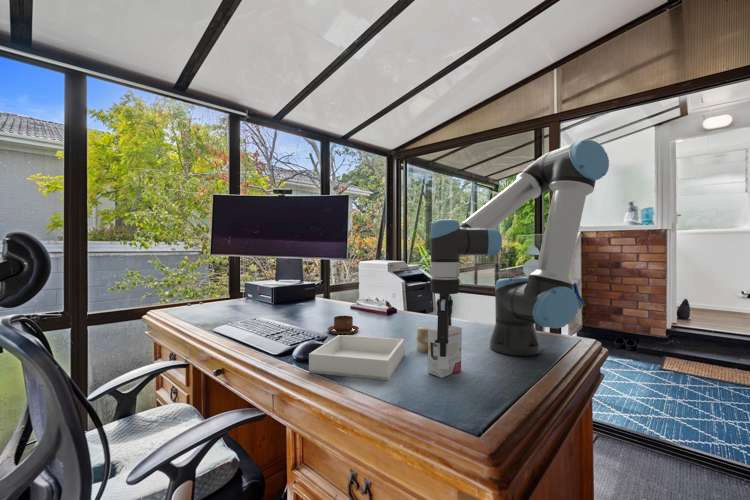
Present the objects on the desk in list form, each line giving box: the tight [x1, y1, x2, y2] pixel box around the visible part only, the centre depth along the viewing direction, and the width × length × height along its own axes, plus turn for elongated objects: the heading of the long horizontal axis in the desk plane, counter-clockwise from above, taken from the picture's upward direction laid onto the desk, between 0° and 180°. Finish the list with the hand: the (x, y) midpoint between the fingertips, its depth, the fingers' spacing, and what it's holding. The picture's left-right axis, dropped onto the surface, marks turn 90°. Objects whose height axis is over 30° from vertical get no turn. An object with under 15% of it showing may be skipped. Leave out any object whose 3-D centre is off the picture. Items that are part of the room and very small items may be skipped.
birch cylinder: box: [416, 326, 432, 353], centre depth 114 cm, size 5×5×7 cm
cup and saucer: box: [327, 315, 360, 335], centre depth 139 cm, size 12×12×6 cm
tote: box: [308, 334, 406, 382], centre depth 101 cm, size 22×22×5 cm
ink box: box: [427, 324, 463, 379], centre depth 94 cm, size 9×5×12 cm, turn 129°
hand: (444, 362), depth 94 cm, fingers closed on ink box, 9 cm apart
